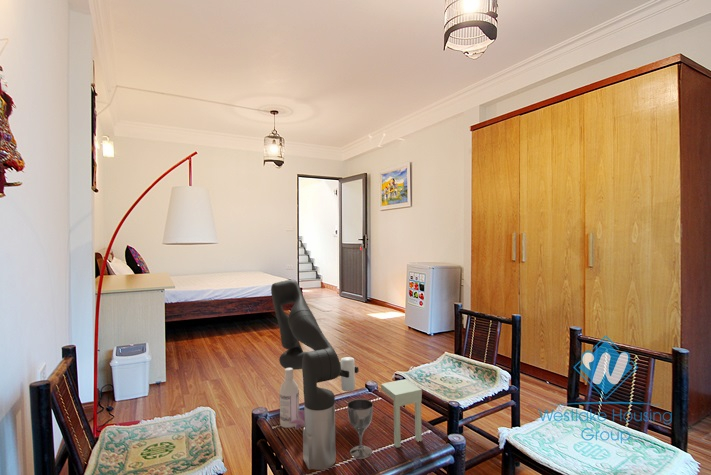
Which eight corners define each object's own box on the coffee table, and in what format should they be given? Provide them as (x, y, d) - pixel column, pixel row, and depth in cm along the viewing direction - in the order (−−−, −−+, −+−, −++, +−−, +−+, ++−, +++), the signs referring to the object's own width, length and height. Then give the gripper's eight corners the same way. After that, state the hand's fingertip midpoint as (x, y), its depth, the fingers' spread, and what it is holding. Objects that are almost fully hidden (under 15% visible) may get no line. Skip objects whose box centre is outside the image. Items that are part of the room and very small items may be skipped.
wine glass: (374, 445, 118) (373, 399, 118) (372, 460, 110) (372, 410, 110) (349, 444, 118) (349, 398, 118) (346, 459, 110) (346, 409, 111)
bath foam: (294, 417, 137) (293, 364, 137) (302, 424, 132) (301, 369, 132) (276, 422, 133) (276, 368, 133) (285, 430, 128) (284, 373, 128)
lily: (331, 433, 127) (326, 404, 131) (320, 436, 117) (314, 405, 121) (300, 442, 129) (295, 413, 133) (286, 446, 118) (282, 414, 122)
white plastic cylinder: (344, 392, 134) (343, 362, 134) (339, 387, 138) (338, 358, 138) (357, 389, 136) (356, 360, 136) (351, 384, 140) (351, 356, 141)
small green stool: (396, 448, 116) (395, 395, 116) (381, 433, 125) (381, 383, 125) (422, 441, 120) (421, 389, 120) (406, 426, 129) (406, 379, 129)
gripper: (307, 359, 140) (341, 367, 130) (331, 350, 151) (364, 357, 141) (307, 379, 140) (341, 388, 130) (331, 368, 151) (364, 376, 141)
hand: (353, 372), depth 136 cm, fingers closed on white plastic cylinder, 5 cm apart
